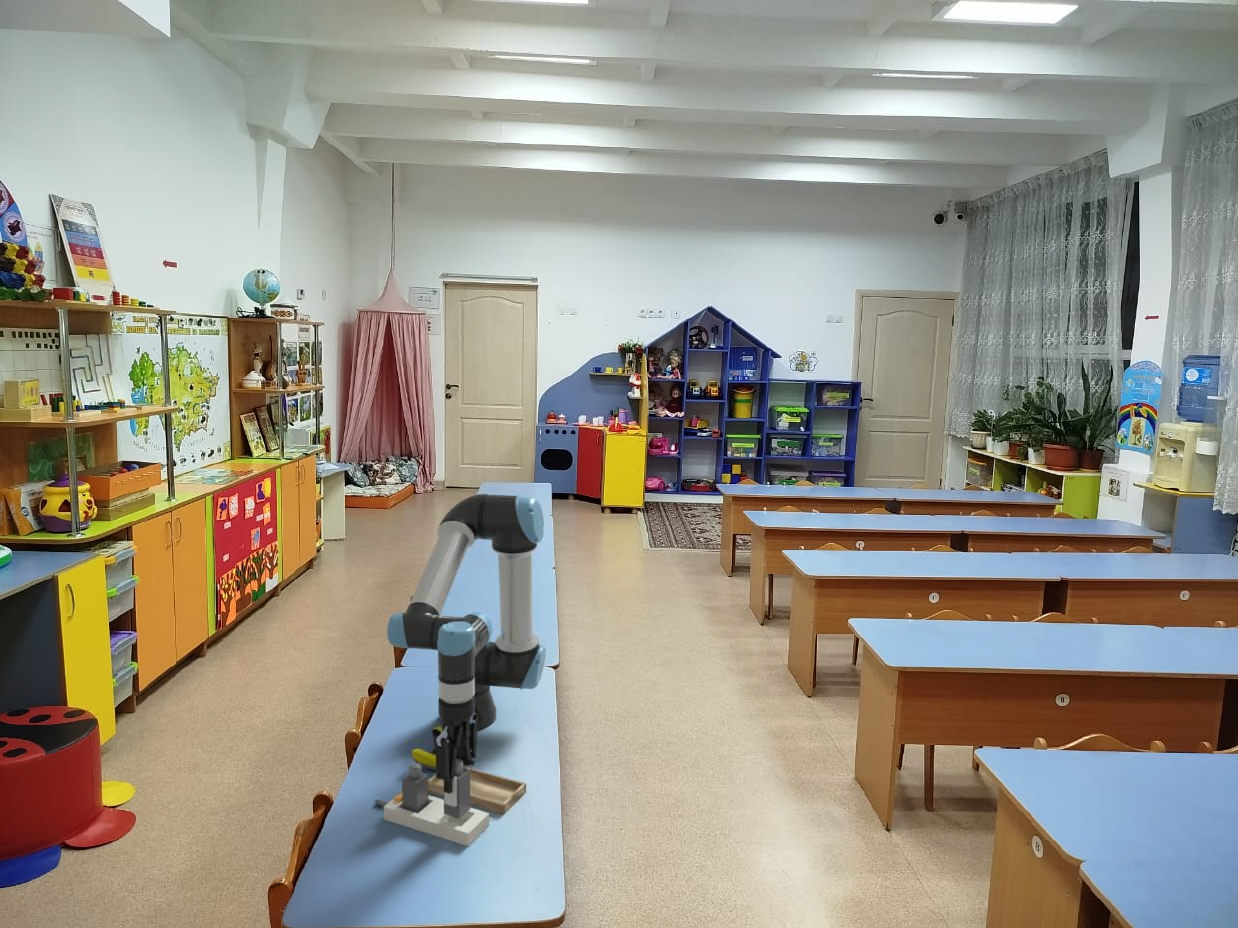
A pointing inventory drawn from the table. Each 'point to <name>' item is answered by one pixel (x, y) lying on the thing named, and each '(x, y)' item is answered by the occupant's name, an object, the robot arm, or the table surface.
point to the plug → (460, 792)
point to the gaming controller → (428, 758)
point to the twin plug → (415, 789)
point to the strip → (437, 820)
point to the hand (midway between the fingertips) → (457, 798)
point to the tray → (486, 790)
